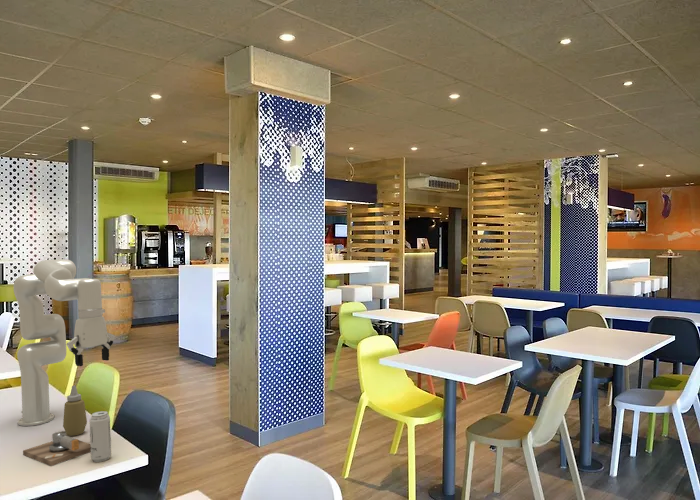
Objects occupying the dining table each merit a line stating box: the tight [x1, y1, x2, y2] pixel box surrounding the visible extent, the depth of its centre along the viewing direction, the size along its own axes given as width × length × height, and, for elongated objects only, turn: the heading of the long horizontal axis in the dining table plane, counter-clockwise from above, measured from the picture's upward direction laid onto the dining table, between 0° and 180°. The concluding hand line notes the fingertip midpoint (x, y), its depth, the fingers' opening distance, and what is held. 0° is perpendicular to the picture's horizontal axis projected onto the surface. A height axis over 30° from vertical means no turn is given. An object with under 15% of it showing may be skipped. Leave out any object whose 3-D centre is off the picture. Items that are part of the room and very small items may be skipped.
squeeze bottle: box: [62, 384, 88, 437], centre depth 199 cm, size 8×8×18 cm
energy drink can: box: [89, 410, 112, 463], centre depth 174 cm, size 6×6×15 cm
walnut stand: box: [22, 439, 91, 467], centre depth 181 cm, size 18×15×2 cm
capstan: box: [49, 430, 79, 452], centre depth 178 cm, size 13×7×5 cm, turn 57°
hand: (92, 362), depth 186 cm, fingers open, 9 cm apart
